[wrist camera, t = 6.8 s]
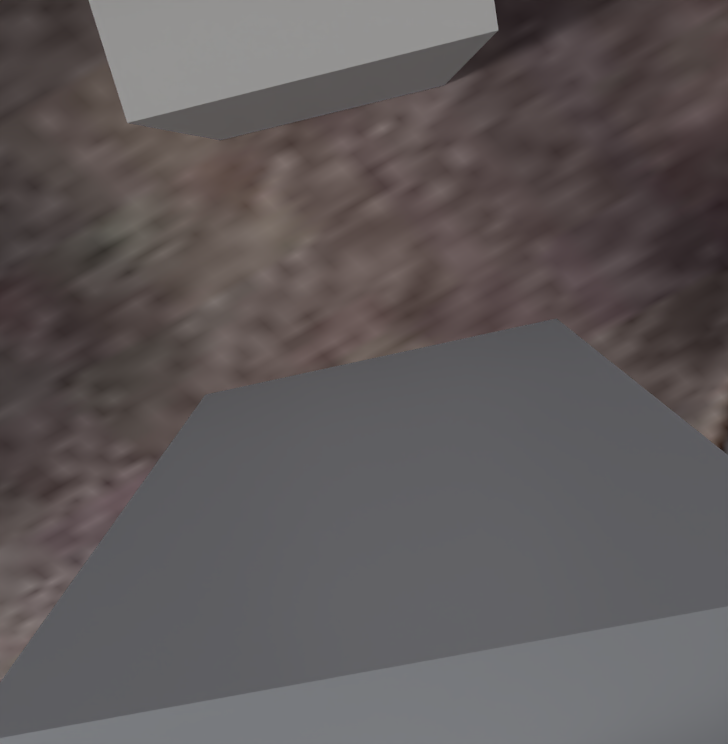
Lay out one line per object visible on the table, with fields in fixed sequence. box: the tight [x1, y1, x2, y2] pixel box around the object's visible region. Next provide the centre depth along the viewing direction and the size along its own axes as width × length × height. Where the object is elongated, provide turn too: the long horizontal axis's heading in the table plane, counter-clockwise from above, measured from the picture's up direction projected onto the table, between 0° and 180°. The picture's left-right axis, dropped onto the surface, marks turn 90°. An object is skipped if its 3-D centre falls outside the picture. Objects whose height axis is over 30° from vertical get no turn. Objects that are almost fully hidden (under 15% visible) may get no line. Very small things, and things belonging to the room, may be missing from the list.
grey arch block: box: [0, 319, 728, 744], centre depth 12 cm, size 9×9×10 cm
